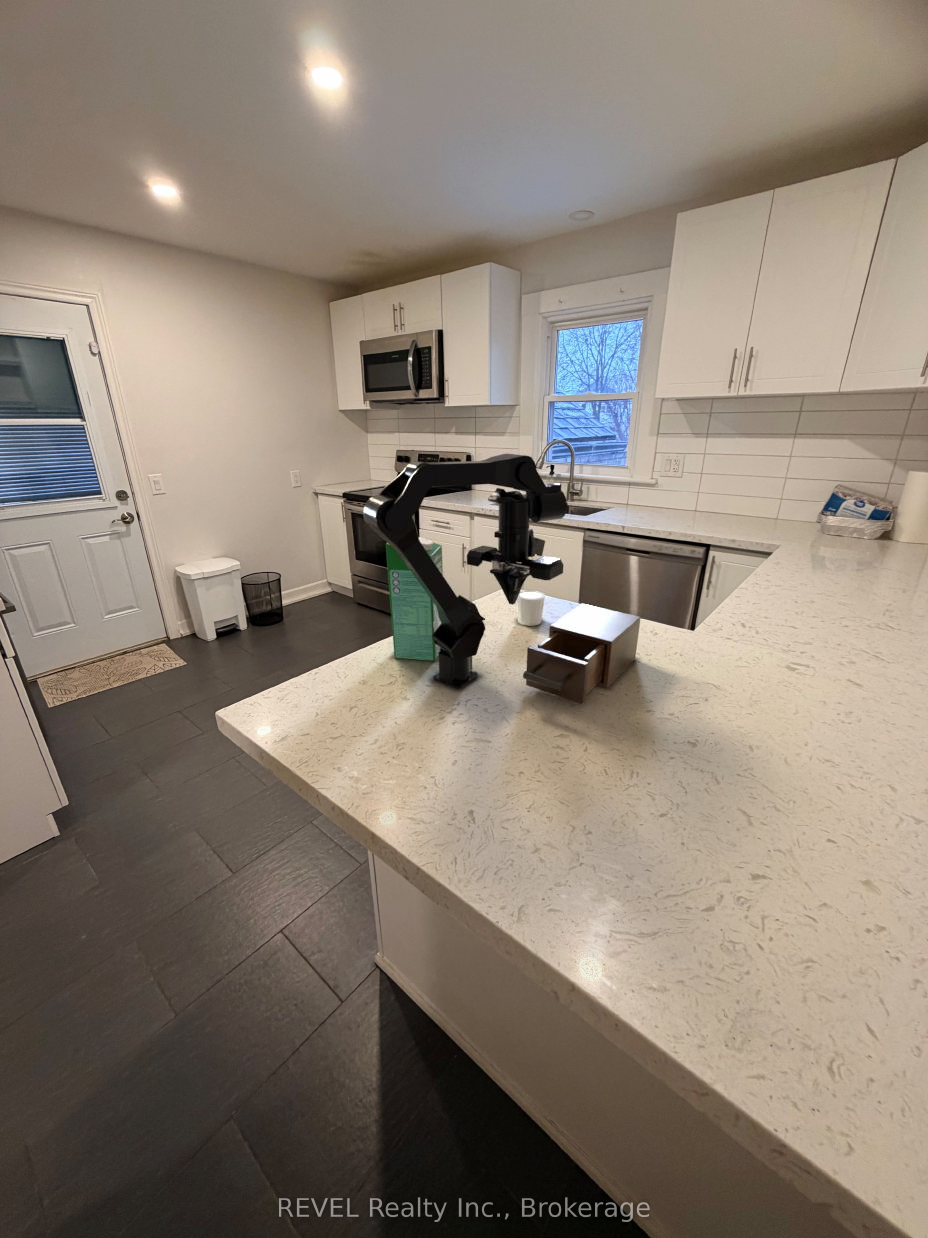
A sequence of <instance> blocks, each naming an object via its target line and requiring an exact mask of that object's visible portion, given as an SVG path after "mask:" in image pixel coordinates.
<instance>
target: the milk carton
mask: <svg viewBox="0 0 928 1238" xmlns="http://www.w3.org/2000/svg"><path fill="white" fill-rule="evenodd" d="M419 540H420V542H421V544H422V545H423V547H424V548H425V550H426V551H427V553H428V554H429V556H430V557H431V559H432V560H433V562H434V563H435V565H436V566H437V568H438V569H439V571H440V572H441V574H442V575H443V576H444V573H443V572H444V571H443V570H444V569H443V545H442V544H439V543H435V542H434V541H432V540H430V539H428V538H425V537H419ZM385 553H386V568H387V580H388V592H389V605H390V616H391V617H390V619H391V630H392V642H393V643H392V644H393V645H392V646H393V655H394V656H393V657H394V658H396V659H407V660H421V661H422V660H423V661H430V662H431V661H436V660H437V658H438V657H439V656H438V653H439V652H440V649H441V648H440V647H439V646H438V645H436V644H435V643H434V641H433V638H432V635H433V633H434V632H435V631H436V629H437V628H438V627H439V626H440V624H441V621H440V619H439V617H438V611H437V607H436V605H435V604H434V603H433V601H432V600H431V598H430V597H429V596H428V594H427V593H426V591H425V590H424V589H423V587H422V586H421V584H420V583H419V582H418V580H417V579H416V578H415V576H414V575H413V573H412V572H411V571H410V569H409V568H408V566H407V565H406V564H405V562H404V561H403V559H402V558H401V557H400V555H399V554H398V552H397V551H396V550H395V549H394V548H393V547H392V546H391V545H389V544H388V543H387V542H386V543H385Z"/></svg>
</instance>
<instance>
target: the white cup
mask: <svg viewBox="0 0 928 1238" xmlns="http://www.w3.org/2000/svg"><path fill="white" fill-rule="evenodd" d="M545 598H546V596H545V593H544V592H541V591H537V590H522V591H520V593H519V595H518V598H517V600H516V608H517V609H516V610H517V621H518V623H519V624H520V625H522V626H523V625H524V626H528V627H534V626H538V625H540V624H541V623H542V620H543V619H542V618H543V612H544V611H543V610H544V604H545Z"/></svg>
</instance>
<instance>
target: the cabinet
mask: <svg viewBox="0 0 928 1238" xmlns="http://www.w3.org/2000/svg"><path fill="white" fill-rule="evenodd" d="M641 618H642V617H641V616H638V615H635V614H630V613H625V612H621V611H617V610H612V609H608V608H603V607H600V606H599V607H598V606H593V605H589V604H585V603H581V604H580V605H579V606H577V607H576V608H574V609H573V610H571V611H569V612H568V613H566V614H565V615H564V616H562V617H560V618H559V619H558V620H556V621H555V622H553V623H552V624H550V625H549V634H548V635H549V636H548V637H550V636H551V635H553V634H554V633H556V632H557V631H558V632H562V633H566V634H570V635H573V636H577V637H581V638H585V639H588V640H592V641H596V642H600V643H604V644H607V654H606V663H605V673H604V678H603V679H602V680H601V681H600V682H599V683H598V684H597V685H596V686H599V687H603V688H606V689H608V688H609V687H610V686H611V684H613V683H614V681H615V680H617V678H618V677H619V676H620V675H621V674H622V673H623V672H625V670H626V669H627V668H628V667H629V666H630V665H631V664H632V663H633V662H634V661H635V660H636V655H637V649H638V640H639V633H640V625H641Z"/></svg>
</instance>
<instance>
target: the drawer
mask: <svg viewBox="0 0 928 1238" xmlns="http://www.w3.org/2000/svg"><path fill="white" fill-rule="evenodd" d="M606 654H607V644H604V643H600V642H596V641H592V640H588V639H585V638H581V637H577V636H573V635H570V634H566V633H562V632H558V631H557V632H556V633H554V634H553V635H551V636H550V637H549V636H548V637H546V638H545V639H544V640H542V641H541V642H539V643H538V644H537V646H534V645H529V646H528V647H527V649H526V670H525V671H524V672H523V674H522V679H524V680H525V685H526V686H527V687H530V688H533V689H536V690H539V691H541V692H545V693H547V694H549V695H553V696H556V697H559V698H562V699H565V700H567V701H571V702H573V703H575V704H579V705H584V704H585V703H586V697H587V695H588V694H589V693H590V692H591V691H592V690H593V689H594V688H595V687H596V686H598V685H597V684H598V683H599V682H600V681H601V680H602V679H603V678H604V673H605V663H606Z"/></svg>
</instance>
